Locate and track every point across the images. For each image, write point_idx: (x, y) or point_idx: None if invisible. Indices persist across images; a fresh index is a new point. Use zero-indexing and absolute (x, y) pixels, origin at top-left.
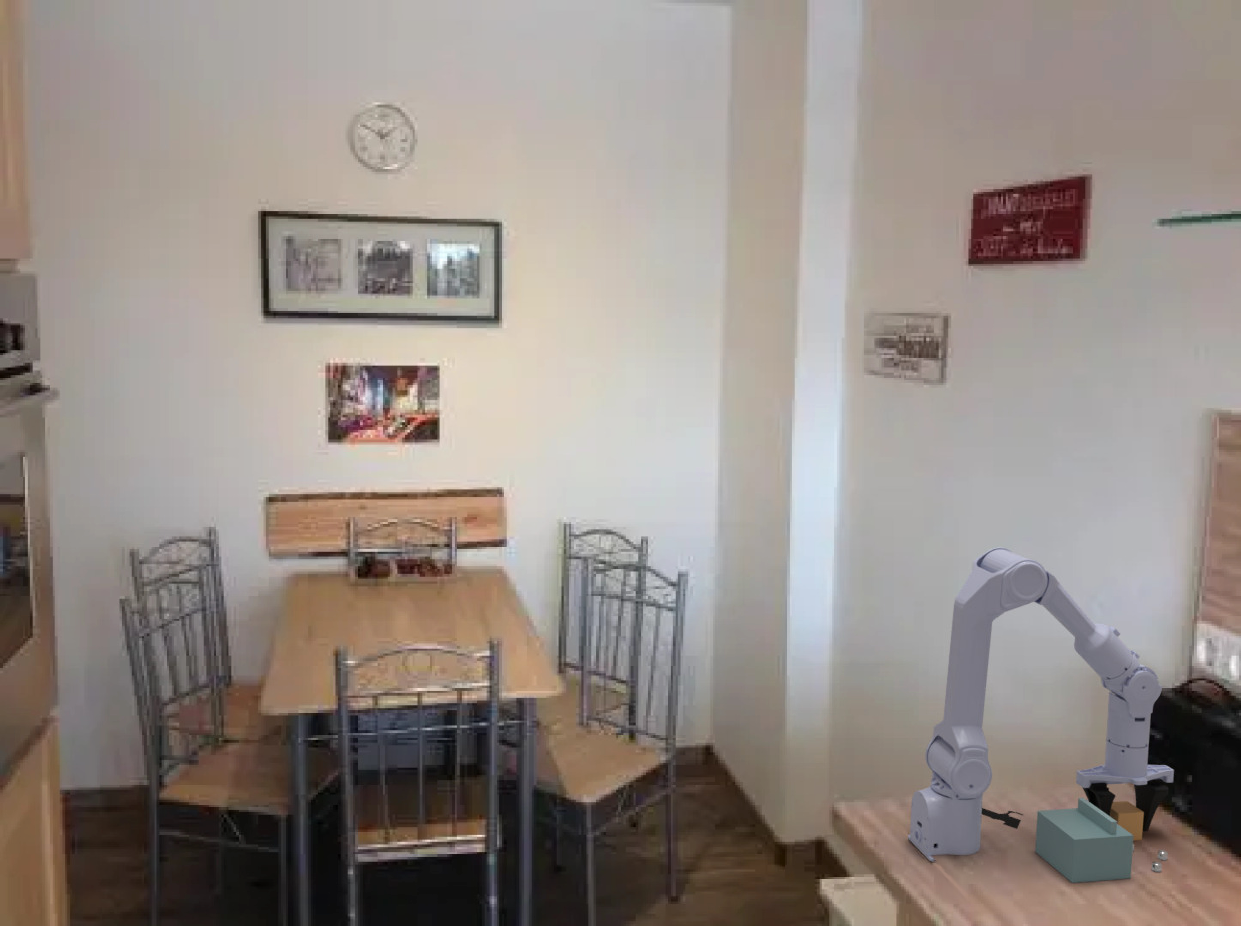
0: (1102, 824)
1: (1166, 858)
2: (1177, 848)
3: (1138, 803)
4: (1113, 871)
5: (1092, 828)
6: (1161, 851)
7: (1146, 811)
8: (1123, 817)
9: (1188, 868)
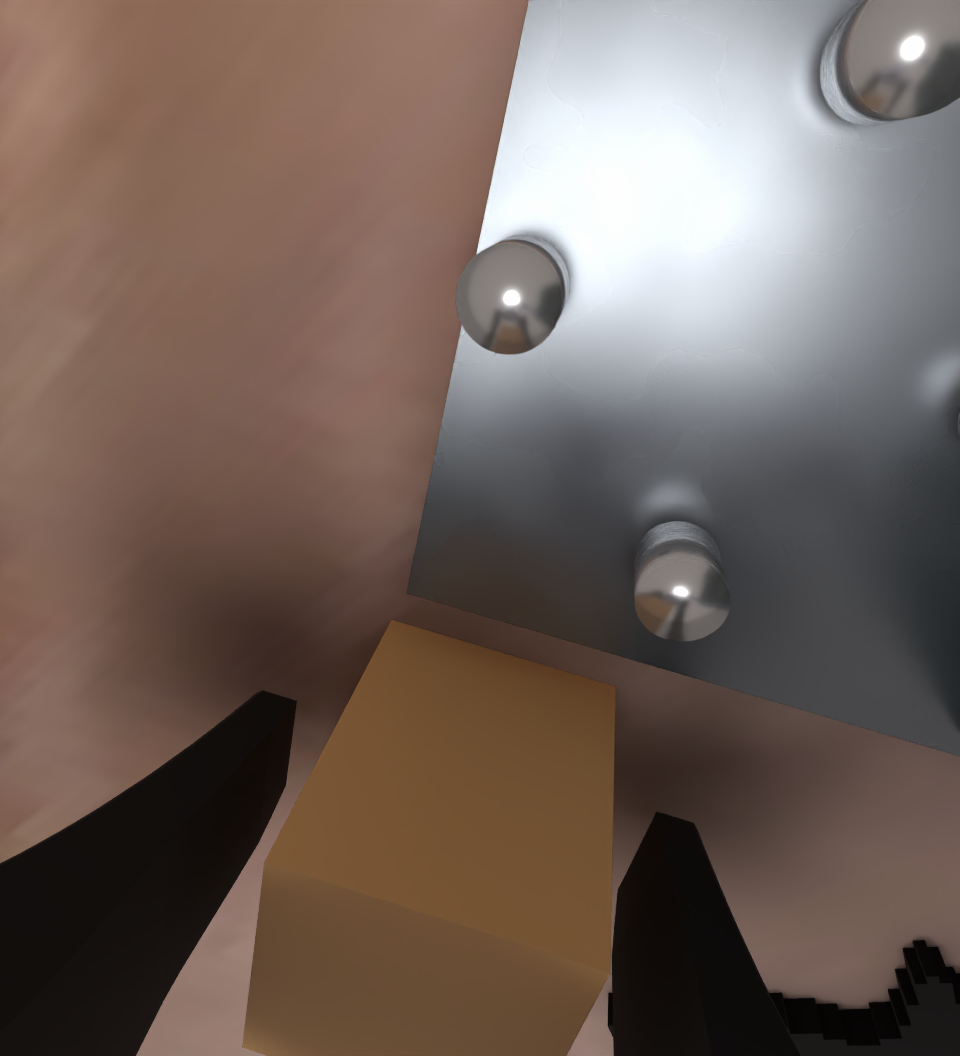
0: None
1: (508, 239)
2: (153, 448)
3: (162, 977)
4: None
5: None
6: (516, 315)
7: (183, 858)
8: (543, 902)
9: (347, 67)
